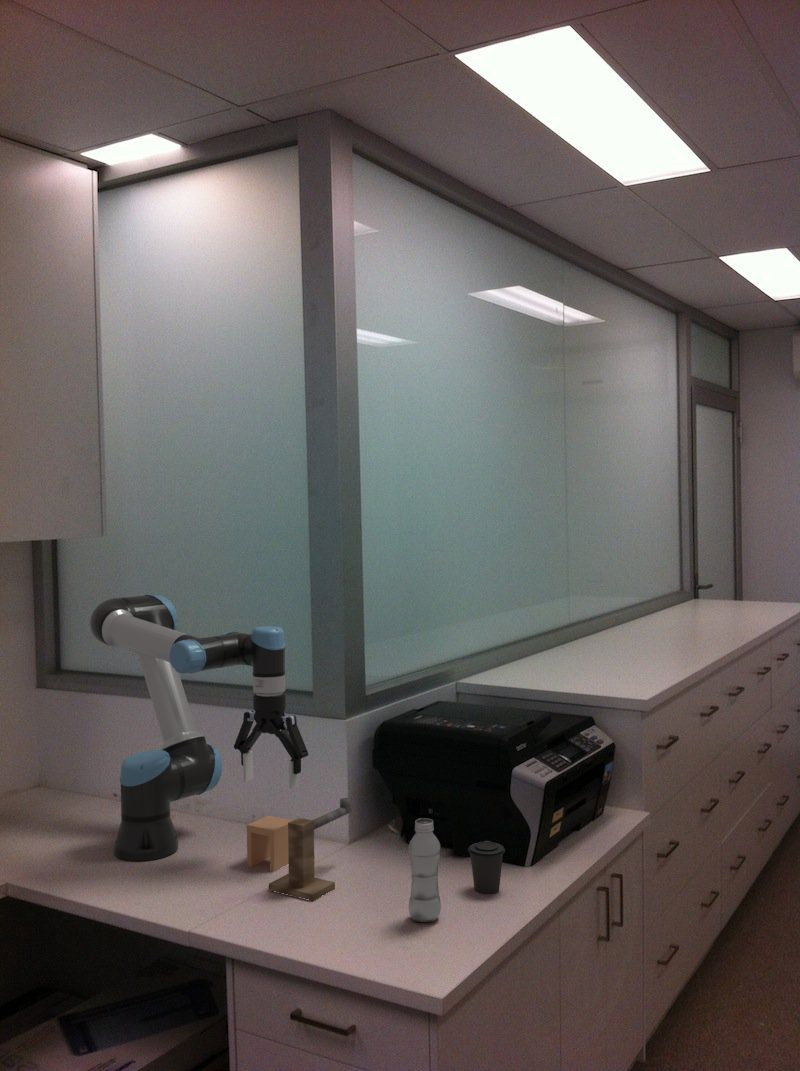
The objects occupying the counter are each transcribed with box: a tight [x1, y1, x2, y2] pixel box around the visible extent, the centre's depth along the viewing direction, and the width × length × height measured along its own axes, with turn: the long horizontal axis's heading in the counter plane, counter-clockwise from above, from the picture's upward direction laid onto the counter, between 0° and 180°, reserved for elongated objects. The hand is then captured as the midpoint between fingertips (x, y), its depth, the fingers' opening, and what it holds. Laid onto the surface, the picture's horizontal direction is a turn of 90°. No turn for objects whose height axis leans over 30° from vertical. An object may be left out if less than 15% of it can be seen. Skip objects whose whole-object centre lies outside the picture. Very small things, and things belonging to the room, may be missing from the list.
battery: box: [452, 833, 471, 857], centre depth 240 cm, size 4×7×10 cm, turn 155°
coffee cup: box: [468, 840, 506, 896], centre depth 216 cm, size 8×8×10 cm
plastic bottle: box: [408, 817, 442, 923], centre depth 201 cm, size 6×7×20 cm
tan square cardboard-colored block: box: [246, 815, 294, 872], centre depth 233 cm, size 8×8×10 cm
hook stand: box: [268, 797, 352, 902], centre depth 223 cm, size 12×22×16 cm, turn 149°
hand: (271, 783), depth 233 cm, fingers open, 13 cm apart
